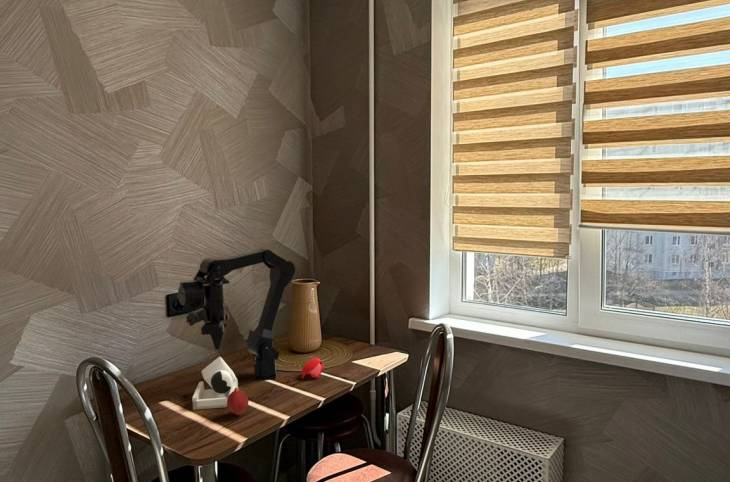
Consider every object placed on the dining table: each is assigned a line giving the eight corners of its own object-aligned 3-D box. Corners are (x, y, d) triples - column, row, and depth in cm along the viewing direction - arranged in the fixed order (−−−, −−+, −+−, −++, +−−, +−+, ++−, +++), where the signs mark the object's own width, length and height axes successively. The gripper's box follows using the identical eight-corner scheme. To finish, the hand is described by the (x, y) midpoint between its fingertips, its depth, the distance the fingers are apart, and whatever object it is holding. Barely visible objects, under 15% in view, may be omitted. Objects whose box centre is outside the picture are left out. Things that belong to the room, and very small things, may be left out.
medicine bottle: (215, 387, 179) (220, 401, 168) (200, 370, 177) (205, 383, 166) (233, 372, 181) (240, 384, 169) (219, 355, 178) (225, 367, 167)
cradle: (238, 389, 178) (237, 378, 178) (233, 406, 165) (233, 394, 165) (200, 392, 177) (199, 381, 176) (193, 409, 164) (192, 398, 163)
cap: (322, 362, 192) (306, 354, 191) (327, 361, 187) (311, 353, 185) (312, 384, 189) (296, 377, 188) (317, 384, 184) (301, 376, 182)
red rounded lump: (229, 411, 162) (227, 384, 161) (250, 410, 162) (248, 382, 161) (226, 420, 156) (224, 391, 155) (247, 418, 156) (246, 390, 156)
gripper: (192, 295, 184) (195, 342, 186) (181, 308, 165) (185, 360, 167) (227, 292, 185) (230, 340, 187) (221, 305, 167) (224, 357, 169)
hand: (217, 349), depth 177 cm, fingers closed
